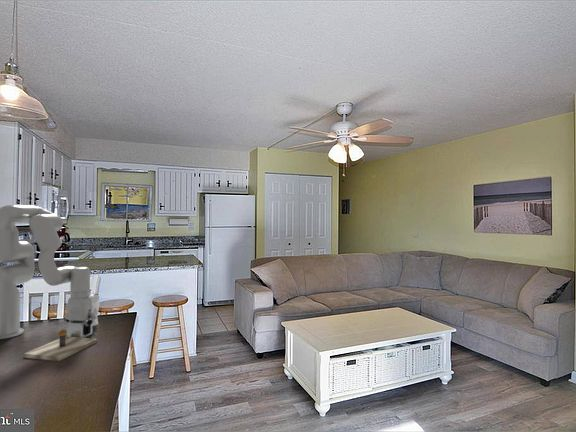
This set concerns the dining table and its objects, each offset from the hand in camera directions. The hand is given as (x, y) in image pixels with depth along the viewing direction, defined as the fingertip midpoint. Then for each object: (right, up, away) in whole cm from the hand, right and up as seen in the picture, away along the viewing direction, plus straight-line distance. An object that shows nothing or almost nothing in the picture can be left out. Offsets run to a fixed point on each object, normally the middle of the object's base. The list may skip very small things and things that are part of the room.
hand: (79, 333), depth 152 cm
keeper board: (+2, -1, -15) cm, 15 cm away
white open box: (0, -1, 0) cm, 1 cm away
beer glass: (-4, -2, +16) cm, 17 cm away
